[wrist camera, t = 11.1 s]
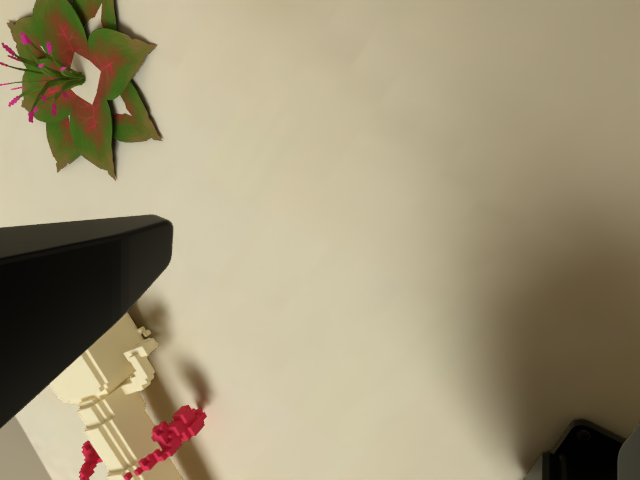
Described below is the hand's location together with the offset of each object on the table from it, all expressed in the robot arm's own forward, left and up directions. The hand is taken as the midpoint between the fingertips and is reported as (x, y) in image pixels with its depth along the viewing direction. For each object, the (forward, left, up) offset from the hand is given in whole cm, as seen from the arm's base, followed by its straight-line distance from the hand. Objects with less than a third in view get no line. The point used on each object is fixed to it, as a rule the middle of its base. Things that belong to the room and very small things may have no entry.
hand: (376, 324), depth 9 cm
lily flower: (+22, +2, -13) cm, 26 cm away
